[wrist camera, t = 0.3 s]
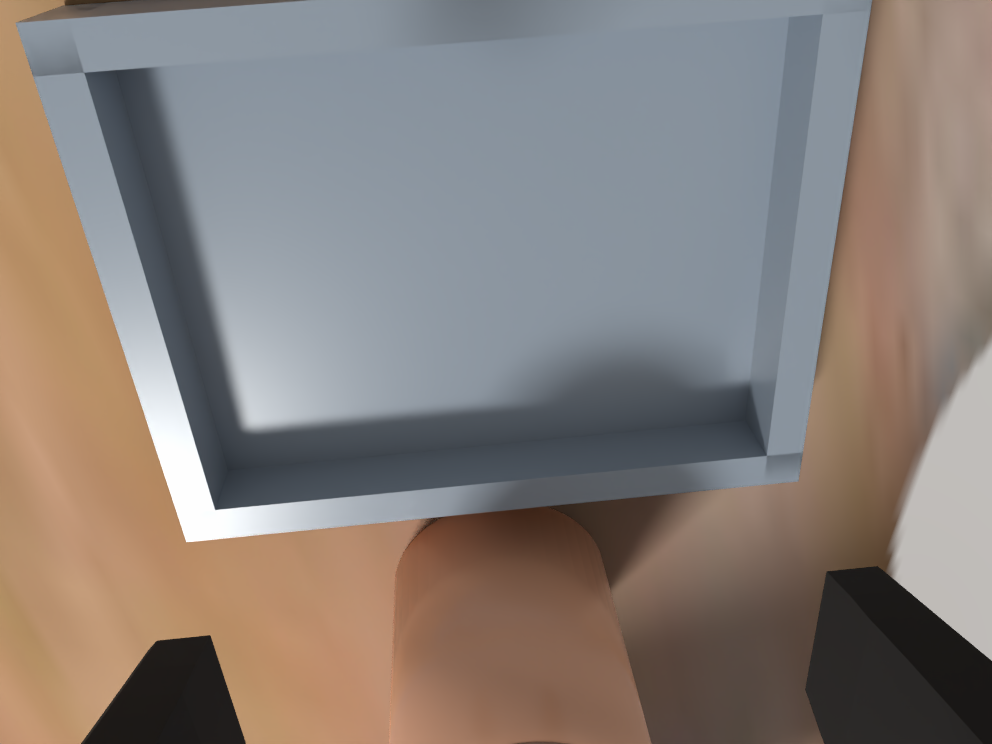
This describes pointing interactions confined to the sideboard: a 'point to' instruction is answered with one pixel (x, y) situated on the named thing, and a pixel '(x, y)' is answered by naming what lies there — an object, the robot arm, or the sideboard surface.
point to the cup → (509, 636)
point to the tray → (457, 242)
